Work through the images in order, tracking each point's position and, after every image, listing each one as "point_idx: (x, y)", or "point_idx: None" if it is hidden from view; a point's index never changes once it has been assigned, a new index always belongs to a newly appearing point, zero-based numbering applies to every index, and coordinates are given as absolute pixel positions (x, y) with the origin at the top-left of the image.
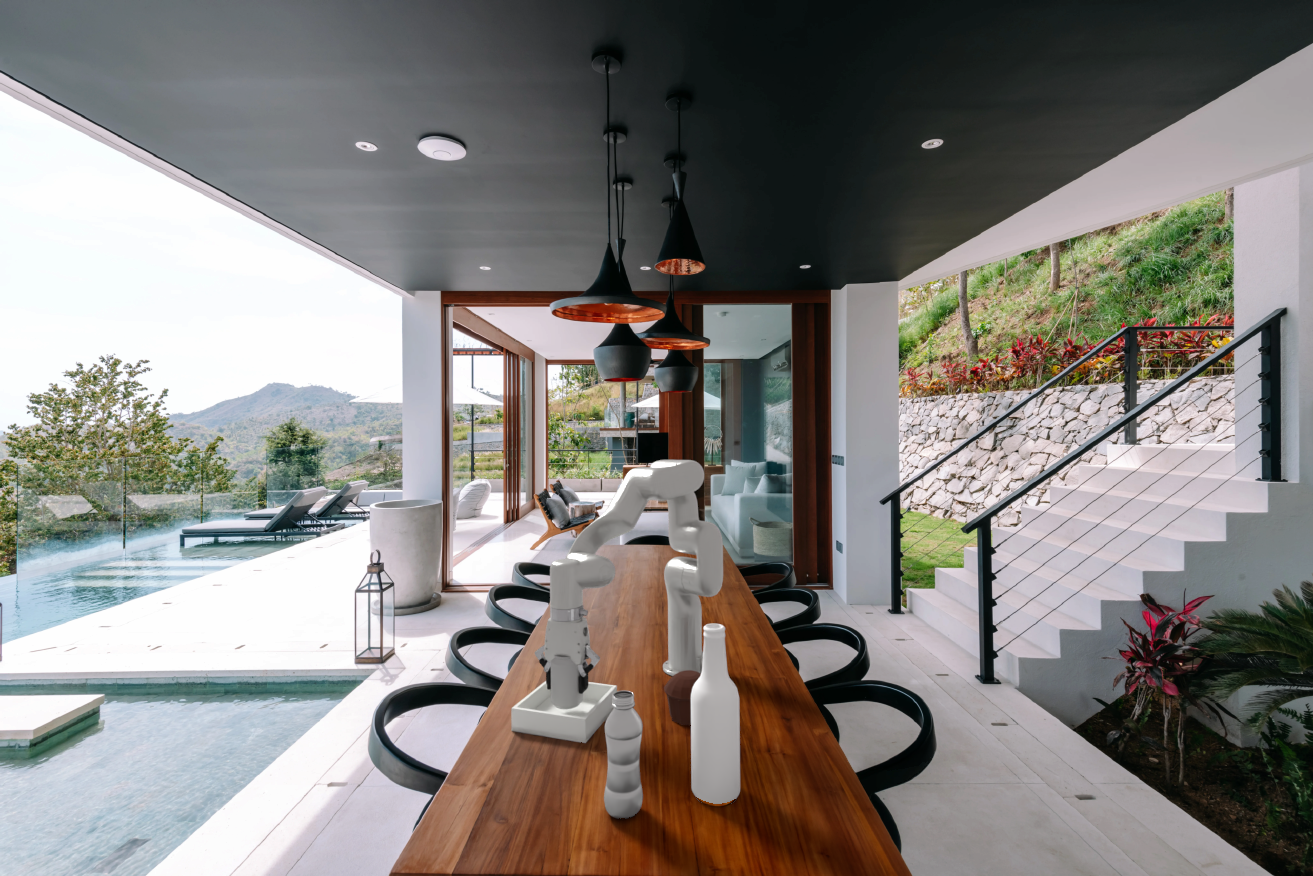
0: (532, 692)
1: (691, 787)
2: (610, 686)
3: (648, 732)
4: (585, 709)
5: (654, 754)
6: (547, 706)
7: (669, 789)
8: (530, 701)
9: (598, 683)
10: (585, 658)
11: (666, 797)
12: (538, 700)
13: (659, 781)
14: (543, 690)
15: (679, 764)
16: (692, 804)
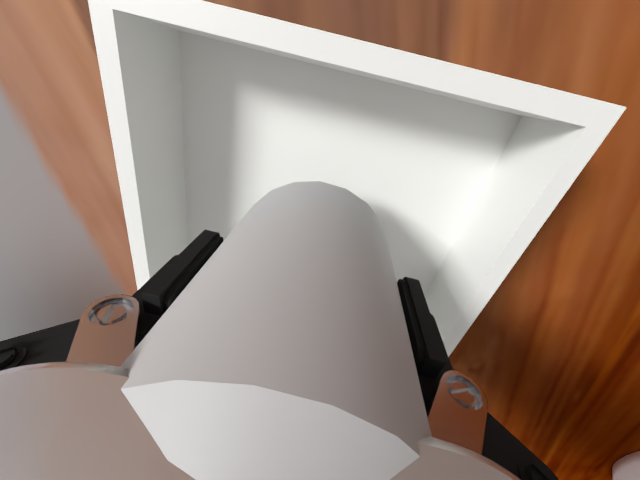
0: (133, 231)
1: (617, 476)
2: (571, 122)
3: (609, 297)
4: (386, 190)
5: (582, 380)
6: (221, 171)
7: (570, 453)
8: (162, 248)
9: (484, 75)
10: (473, 453)
11: (556, 464)
12: (171, 178)
13: (558, 439)
14: (149, 136)
15: (630, 409)
16: (596, 475)
